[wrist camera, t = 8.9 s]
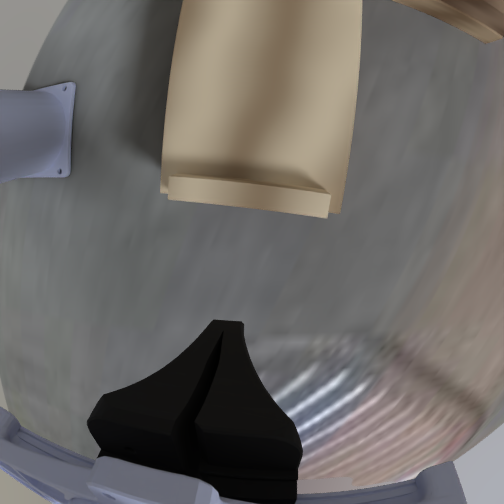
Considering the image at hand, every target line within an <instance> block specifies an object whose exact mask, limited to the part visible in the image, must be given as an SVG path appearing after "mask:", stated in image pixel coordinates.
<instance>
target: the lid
mask: <svg viewBox="0 0 504 504" xmlns="http://www.w3.org/2000/svg"><path fill="white" fill-rule="evenodd" d="M361 29H362V0H183V3H182V8H181V13H180V18H179V23H178V28H177V34H176V40H175V46H174V52H173V58H172V65H171V72H170V80H169V87H168V96H167V105H166V114H165V125H164V137H163V150H162V166H161V187H160V193H168V200H178V201H189V202H199V203H209V204H218V205H227V206H236V207H245V208H253V209H262V210H270V211H278V212H285V213H293V214H300V215H307V216H314V217H321V218H327V216H328V212H330V213H337V214H340V211H341V205H342V200H343V194H344V188H345V182H346V176H347V169H348V163H349V156H350V149H351V142H352V134H353V126H354V118H355V109H356V99H357V89H358V78H359V65H360V50H361Z"/></svg>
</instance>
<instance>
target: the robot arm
mask: <svg viewBox="0 0 504 504" xmlns="http://www.w3.org/2000/svg"><path fill="white" fill-rule="evenodd" d="M66 86H67V89H66V91H65V88H66ZM75 89H76V85H75V83H74V82H67V83H62V84H58V85H53V86H49V87H45V88H41V89H37V90H33V91H24V90H0V183H4V182H7V181H10V180H14V179H17V178H26V177H67V176H69V175H70V171H71V134H72V119H73V107H74V98H75ZM60 169H61V170H62V173H61V172H60ZM87 426H88V428H89V431H90V433H91V434H92V436H93V437H94V439H95V441H96V442H97V444H98V445H99V447H100V448H101V451H100V453H99V455H98V457H97V459H96V460H93V459H90V458H88V457H85V456H83V455H80V454H78V453H75V452H73V451H71V450H68V449H66V448H64V447H62V446H59V445H57V444H55V443H53V442H51V441H49V440H47V439H45V438H43V437H41V436H39V435H37V434H35V433H33V432H31V431H29V430H28V429H26V428H24V427H22V426H21V425H20V423H19V421H18V420H17V419H16V418H15V416H14V415H13V414H11V413H10V412H8V411H7V410H5V409H3V408H2V407H0V468H1V469H2V470H3V471H4V472H6V473H7V474H9V475H10V476H11V477H13V478H14V479H16V480H17V481H19V482H20V483H22V484H23V485H25V486H26V487H27V488H29V489H30V490H32V491H33V492H35V493H37V494H38V495H40V496H41V497H43V498H45V499H46V500H48V501H49V502H51V503H53V504H467V502H466V499H465V496H464V492H463V489H462V486H461V483H460V480H459V477H458V474H457V472H456V469H455V466H454V464H453V461H449V462H445V463H442V464H439V465H435V466H432V467H429V468H426V469H425V470H423V471H422V472H420V473H419V474H418V476H417V477H416V478H415V479H411V480H407V481H403V482H398V483H393V484H389V485H383V486H378V487H372V488H365V489H358V490H350V491H341V492H330V493H315V494H297V480H298V467H299V464H300V461H301V459H302V455H303V449H302V444H301V440H300V437H299V434H298V432H297V429H296V427H295V424H294V422H293V421H292V420H291V419H290V418H289V417H288V416H287V415H286V414H285V413H284V412H283V411H282V410H281V408H280V407H279V406H278V405H277V404H276V402H275V401H274V400H273V398H272V397H271V396H270V394H269V393H268V391H267V390H266V389H265V387H264V385H263V384H262V382H261V380H260V378H259V377H258V375H257V373H256V371H255V369H254V366H253V364H252V361H251V359H250V356H249V353H248V350H247V347H246V343H245V338H244V324H243V323H242V322H240V321H225V320H213V321H211V323H210V324H209V325H208V326H207V327H206V329H205V330H204V331H203V332H202V333H201V334H200V335H199V337H198V338H197V339H196V340H195V341H194V342H193V343H192V344H191V345H190V346H189V347H188V348H187V349H186V350H184V351H183V352H182V353H181V354H180V355H179V356H178V357H177V358H175V359H174V360H173V361H172V362H170V363H169V364H168V365H166V366H165V367H163V368H162V369H160V370H159V371H157V372H155V373H154V374H152V375H150V376H149V377H147V378H145V379H143V380H141V381H139V382H137V383H135V384H132V385H130V386H128V387H125V388H122V389H119V390H116V391H113V392H110V393H107V394H103V396H102V397H101V398H100V400H99V401H98V403H97V404H96V406H95V408H94V410H93V411H92V413H91V415H90V417H89V419H88V420H87Z"/></svg>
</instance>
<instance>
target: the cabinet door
mask: <svg viewBox="0 0 504 504" xmlns="http://www.w3.org/2000/svg"><path fill="white" fill-rule="evenodd" d="M441 1H443V2H445V3H447V4H449V5H451V6H453V7H455V8H457V9H459V10H461V11H462V12H464V13H466V14H468V15H470V16H471V17H473V18H475V19H477V20H478V21H480V22H482V23H483V24H485V25H486V26H488V27H490V28H491V29H493V30H494V31H496V32H497V33H499V34H500V35H502V36H503V37H504V0H441Z"/></svg>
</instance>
